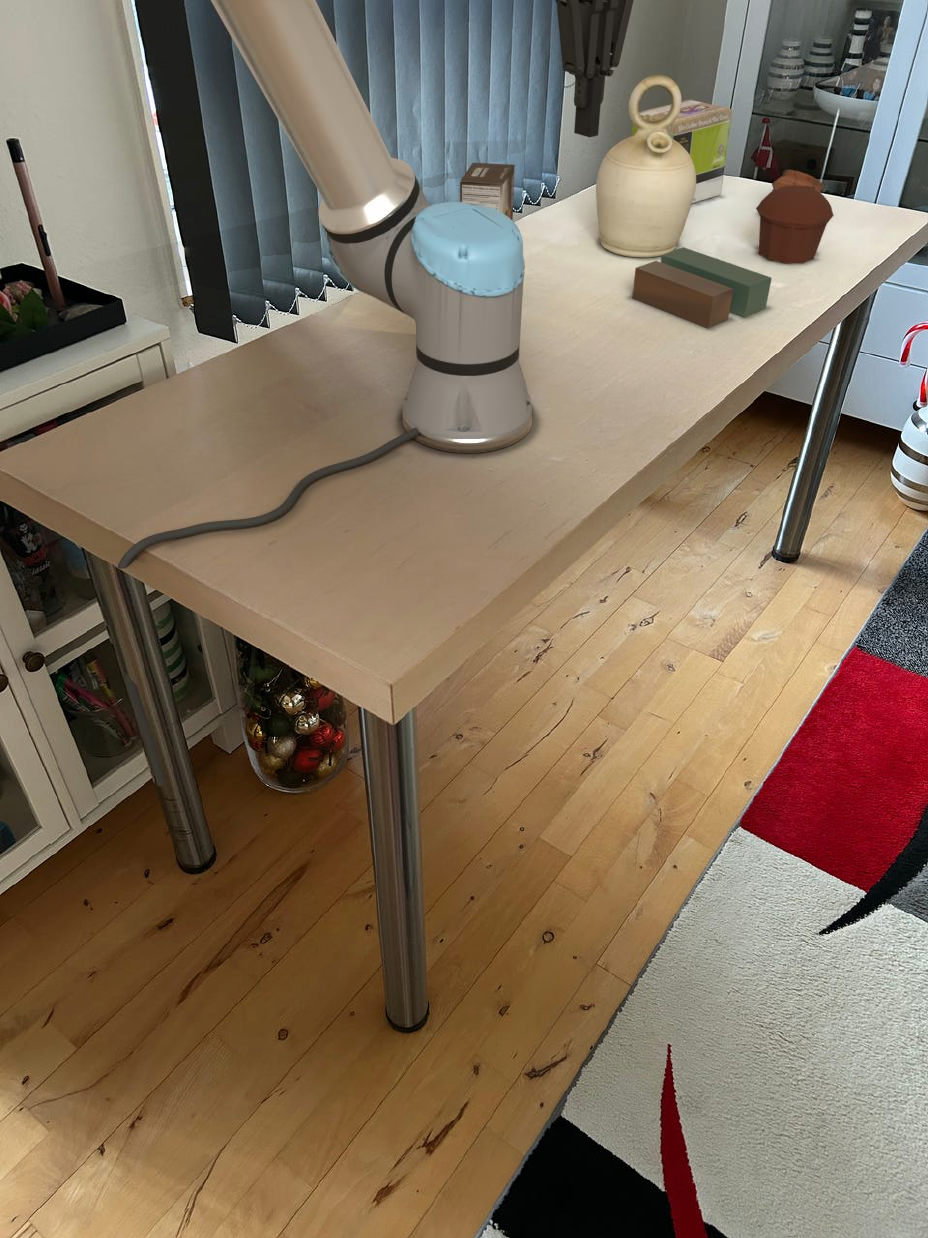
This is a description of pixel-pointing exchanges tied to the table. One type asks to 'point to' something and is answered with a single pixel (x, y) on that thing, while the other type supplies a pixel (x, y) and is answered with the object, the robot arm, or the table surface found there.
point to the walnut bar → (682, 294)
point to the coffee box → (489, 186)
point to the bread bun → (797, 180)
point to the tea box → (700, 141)
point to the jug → (646, 183)
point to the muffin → (792, 223)
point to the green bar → (725, 278)
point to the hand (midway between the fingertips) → (586, 133)
